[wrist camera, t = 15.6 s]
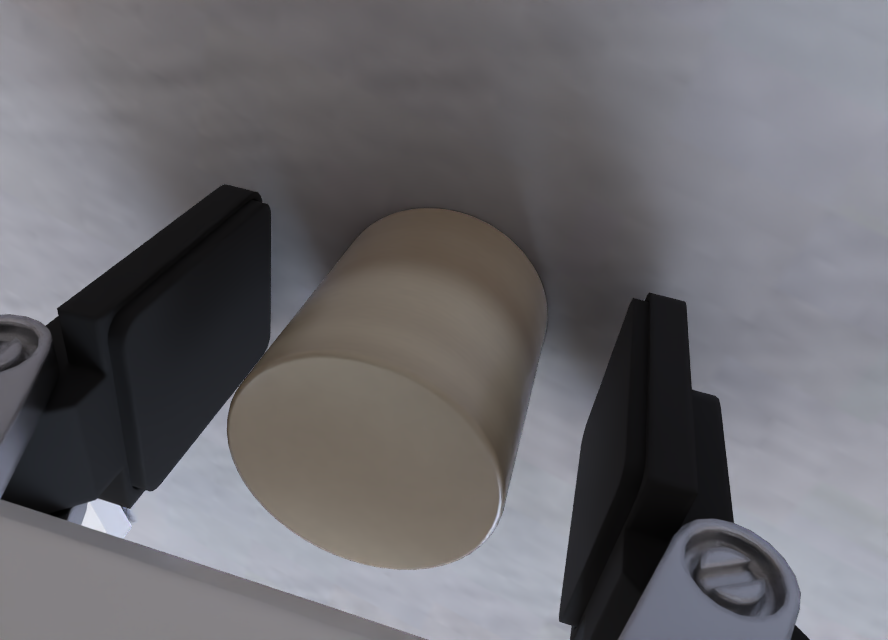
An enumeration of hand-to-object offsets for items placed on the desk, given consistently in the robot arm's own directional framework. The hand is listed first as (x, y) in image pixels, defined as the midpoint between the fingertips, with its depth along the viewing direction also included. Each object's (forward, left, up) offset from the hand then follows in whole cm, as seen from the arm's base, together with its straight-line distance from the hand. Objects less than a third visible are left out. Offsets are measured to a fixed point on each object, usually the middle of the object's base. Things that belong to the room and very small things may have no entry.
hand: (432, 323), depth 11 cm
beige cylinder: (0, 0, -1) cm, 1 cm away
